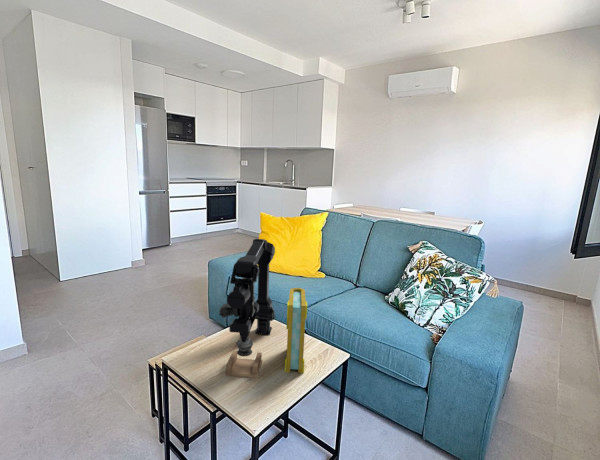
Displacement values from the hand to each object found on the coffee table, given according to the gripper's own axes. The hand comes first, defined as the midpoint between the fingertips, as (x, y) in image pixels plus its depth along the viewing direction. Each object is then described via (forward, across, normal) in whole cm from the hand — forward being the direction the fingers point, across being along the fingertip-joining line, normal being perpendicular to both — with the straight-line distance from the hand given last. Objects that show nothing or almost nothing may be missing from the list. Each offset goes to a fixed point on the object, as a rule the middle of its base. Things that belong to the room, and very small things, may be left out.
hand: (244, 339), depth 114 cm
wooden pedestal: (+11, 0, 0) cm, 11 cm away
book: (+12, -8, +17) cm, 22 cm away
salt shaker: (+5, 0, 0) cm, 5 cm away
